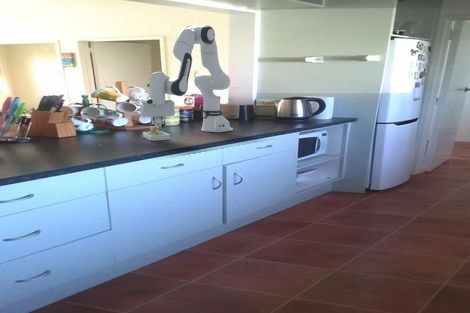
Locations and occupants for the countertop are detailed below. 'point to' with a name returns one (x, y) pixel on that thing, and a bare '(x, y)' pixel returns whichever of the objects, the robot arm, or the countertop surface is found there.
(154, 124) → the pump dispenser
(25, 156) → the countertop surface
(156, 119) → the metal cylinder
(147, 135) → the tray
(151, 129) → the beech block
